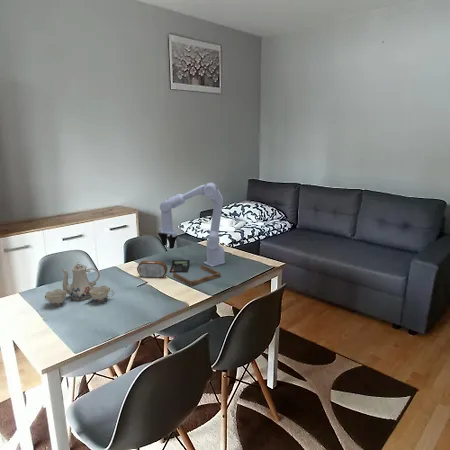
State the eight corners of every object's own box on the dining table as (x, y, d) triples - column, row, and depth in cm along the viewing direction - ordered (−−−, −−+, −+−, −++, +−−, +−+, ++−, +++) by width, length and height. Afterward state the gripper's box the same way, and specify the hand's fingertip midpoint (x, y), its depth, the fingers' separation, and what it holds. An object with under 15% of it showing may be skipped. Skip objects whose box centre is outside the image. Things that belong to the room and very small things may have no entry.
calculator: (169, 273, 190) (169, 267, 189) (172, 265, 201) (172, 259, 201) (187, 273, 190) (187, 267, 189) (189, 265, 201) (189, 259, 201)
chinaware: (42, 315, 150) (36, 279, 145) (49, 294, 165) (43, 261, 160) (114, 306, 158) (111, 271, 152) (114, 287, 173) (111, 254, 167)
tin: (168, 276, 185) (167, 260, 183) (166, 279, 182) (165, 262, 180) (138, 275, 187) (137, 259, 184) (136, 277, 184) (135, 262, 181)
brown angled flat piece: (202, 268, 196) (201, 264, 195) (220, 276, 184) (220, 272, 184) (173, 276, 185) (173, 273, 184) (191, 286, 173) (190, 282, 173)
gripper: (153, 221, 201) (154, 245, 204) (167, 226, 190) (168, 251, 194) (164, 219, 205) (165, 242, 209) (179, 224, 195) (180, 248, 198)
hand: (168, 246), depth 201 cm, fingers open, 7 cm apart
